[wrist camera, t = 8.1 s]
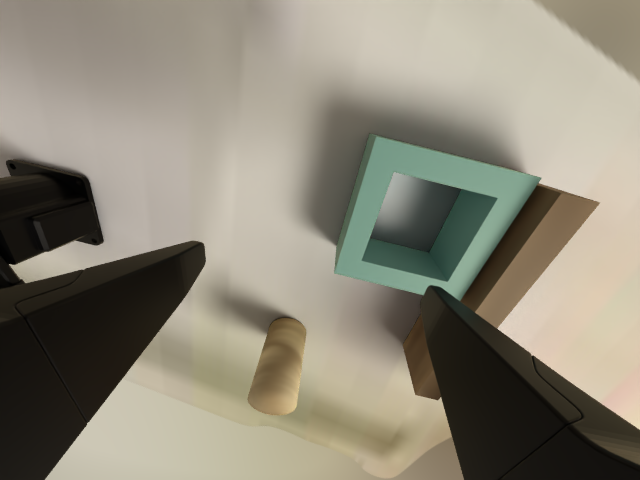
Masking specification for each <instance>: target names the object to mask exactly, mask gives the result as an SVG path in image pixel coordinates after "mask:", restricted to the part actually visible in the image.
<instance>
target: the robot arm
mask: <svg viewBox="0 0 640 480" xmlns="http://www.w3.org/2000/svg"><path fill="white" fill-rule="evenodd" d="M6 165H7V167H8V170H9V173H10V175H11V176H10V177H4V178H0V480H45V478H46V477H47V476H48V475H49V473H50V472H51V471H52V469H53V468H54V467H55V466H56V464H57V463H58V462H59V460H60V459H61V458H62V457H63V455H64V454H65V453H66V451H67V450H68V449H69V447H70V446H71V445H72V444H73V442H74V441H75V440H76V438H77V437H78V436H79V434H80V433H81V432H82V431H83V429H84V428H85V427H86V425H87V423H88V422H89V421H90V420H91V418H92V417H93V416H94V415H95V413H96V412H97V411H98V409H99V408H100V407H101V405H102V404H103V403H104V402H105V400H106V399H107V398H108V396H109V395H110V394H111V393H112V391H113V390H114V389H115V387H116V386H117V385H118V383H119V382H120V381H121V380H122V378H123V377H124V376H125V374H126V373H127V372H128V371H129V369H130V368H131V367H132V365H133V364H134V363H135V361H136V360H137V359H138V358H139V356H140V355H141V354H142V352H143V351H144V350H145V348H146V347H147V346H148V345H149V343H150V342H151V341H152V339H153V338H154V337H155V336H156V334H157V333H158V332H159V330H160V329H161V328H162V326H163V325H164V324H165V323H166V321H167V320H168V319H169V317H170V316H171V315H172V313H173V312H174V311H175V310H176V308H177V307H178V306H179V304H180V303H181V302H182V300H183V299H184V298H185V296H186V295H187V293H188V292H189V290H190V289H191V287H192V285H193V284H194V282H195V280H196V279H197V277H198V275H199V274H200V272H201V270H202V269H203V267H204V265H205V262H206V257H205V246H204V244H203V243H202V242H198V241H189V242H185V243H181V244H178V245H174V246H170V247H166V248H162V249H158V250H155V251H151V252H147V253H143V254H139V255H136V256H132V257H128V258H124V259H120V260H117V261H113V262H109V263H105V264H101V265H97V266H94V267H90V268H86V269H85V270H78V271H74V272H71V273H67V274H63V275H59V276H55V277H51V278H47V279H43V280H38V281H34V282H30V283H25V282H24V281H23V280H22V279H20V278H19V277H18V276H17V274H16V273H15V272H14V271H13V269H12V268H11V267H10V265H9V264H12V265H16V264H18V263H20V262H23V261H25V260H27V259H30V258H32V257H34V256H37V255H39V254H41V253H44V252H49V251H52V250H54V249H56V248H59V247H61V246H63V245H66V244H68V243H70V242H72V241H79V242H84V243H88V244H92V245H100V244H102V243H103V242H104V240H103V236H102V232H101V228H100V224H99V219H98V215H97V211H96V207H95V203H94V199H93V195H92V191H91V187H90V183H89V181H88V179H87V178H86V177H84V176H81V175H77V174H73V173H69V172H65V171H61V170H57V169H53V168H49V167H45V166H41V165H37V164H33V163H29V162H25V161H21V160H16V159H13V160H7V161H6ZM420 308H421V314H422V321H423V327H424V333H425V339H426V344H427V348H428V351H429V355H430V359H431V362H432V366H433V369H434V373H435V377H436V380H437V384H438V387H439V391H440V395H441V398H442V402H443V405H444V409H445V413H446V416H447V420H448V423H449V427H450V431H451V434H452V438H453V441H454V445H455V448H456V452H457V456H458V459H459V463H460V467H461V470H462V474H463V477H464V480H640V430H639V429H638V428H636V427H635V426H633V425H632V424H630V423H629V422H627V421H626V420H624V419H623V418H621V417H620V416H619V415H617V414H616V413H614V412H613V411H611V410H610V409H608V408H607V407H605V406H604V405H602V404H601V403H599V402H598V401H597V400H595V399H594V398H592V397H591V396H589V395H588V394H586V393H585V392H583V391H582V390H581V389H579V388H578V387H576V386H575V385H573V384H572V383H571V382H569V381H568V380H566V379H565V378H563V377H562V376H561V375H559V374H558V373H557V372H555V371H554V370H552V369H551V368H550V367H548V366H547V365H545V364H544V363H543V362H541V361H540V360H539V359H537V358H536V357H535V356H531V354H530V353H529V352H528V351H527V350H525V349H524V348H522V347H521V346H520V345H518V344H517V343H516V342H514V341H513V340H512V339H510V338H509V337H508V336H506V335H505V334H504V333H502V332H501V331H499V330H498V329H497V328H495V327H494V326H493V325H491V324H490V323H489V322H487V321H486V320H485V319H483V318H482V317H481V316H479V315H478V314H476V313H475V312H474V311H472V310H471V309H470V308H468V307H467V306H466V305H464V304H463V303H462V302H460V301H459V300H458V299H456V298H455V297H454V296H452V295H451V294H449V293H448V292H447V291H445V290H444V289H443V288H441V287H439V286H434V285H429V286H428V287H427V289H426V291H425V293H424V295H423V297H422V300H421V303H420Z"/></svg>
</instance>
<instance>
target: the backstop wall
mask: <svg viewBox="0 0 640 480" xmlns="http://www.w3.org/2000/svg"><path fill="white" fill-rule="evenodd" d="M599 204H600V203H599V202H596V201H593V200H590V199H587V198H583V197H580V196H577V195H574V194H571V193H568V192H564V191H561V190H558V189H555V188H552V187H549V186H545V185H542V184H539V183H538V184H537V186H536V187H535V189H534V190H533V192H532V193H531V195H530V196H529V198H528V199H527V201H526V202H525V204H524V205H523V207H522V208H521V210H520V211H519V213H518V214H517V216H516V217H515V219H514V220H513V222H512V223H511V225H510V226H509V228H508V230H507V231H506V233H505V234H504V236H503V237H502V239H501V240H500V242H499V243H498V245H497V246H496V248H495V249H494V251H493V252H492V254H491V255H490V257H489V258H488V260H487V261H486V263H485V264H484V266H483V267H482V269H481V270H480V272H479V273H478V275H477V276H476V278H475V279H474V281H473V282H472V284H471V285H470V287H469V288H468V290H467V291H466V293H465V294H464V296H463V297H462V299H461V300H460V302H462V303H463V304H464V305H466V306H467V307H468V308H470V309H471V310H472V311H474V312H475V313H476V314H478V315H479V316H481V317H482V318H483V319H485V320H486V321H487V322H489V323H490V324H491V325H493V326H494V327H495V328H498V327H499V325H500V324H501V323H502V322H503V320H504V319H505V318H506V317H507V316H508V314H509V313H510V312H511V311H512V310H513V308H514V307H515V306H516V305H517V303H518V302H519V301H520V300H521V299H522V297H523V296H524V295H525V294H526V293H527V291H528V290H529V289H530V288H531V286H532V285H533V284H534V283H535V282H536V280H537V279H538V278H539V277H540V275H541V274H542V273H543V272H544V271H545V269H546V268H547V267H548V266H549V265H550V263H551V262H552V261H553V260H554V258H555V257H556V256H557V255H558V254H559V252H560V251H561V250H562V249H563V247H564V246H565V245H566V244H567V243H568V241H569V240H570V239H571V238H572V237H573V235H574V234H575V233H576V232H577V230H578V229H579V228H580V227H581V226H582V224H583V223H584V222H585V221H586V219H587V218H588V217H589V216H590V215H591V213H592V212H593V211H594V210H595V209H596V207H597V206H598V205H599ZM403 348H404V352H405V356H406V360H407V364H408V368H409V372H410V376H411V380H412V384H413V388H414V392H415V395H418V396H423V397H427V398H431V399H435V400H439V398H440V397H441V395H440V391H439V387H438V384H437V380H436V377H435V373H434V369H433V366H432V362H431V359H430V355H429V351H428V348H427V344H426V339H425V333H424V327H423V321H422V314H420V316H419V318H418V320H417V321H416V323H415V325H414V326H413V328H412V330H411V332H410V333H409V335H408V337H407V339H406V340H405V342H404V344H403Z"/></svg>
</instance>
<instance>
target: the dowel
mask: <svg viewBox="0 0 640 480" xmlns="http://www.w3.org/2000/svg"><path fill="white" fill-rule="evenodd" d="M305 339H306V329H305V327H304V326H303V325H302V324H301V323H300V322H298V321H296V320H294V319H290V318H281V319H277V320H275V321H274V322H272V323H271V325H270V327H269V330H268V334H267V337H266V340H265V343H264V347H263V350H262V353H261V356H260V359H259V363H258V366H257V369H256V372H255V375H254V379H253V382H252V385H251V388H250V392H249V395H248V402H249V404H250V405H251V406H252V407H253V408H254V409H256V410H258V411H260V412H262V413H265V414H270V415H285V414H288V413H291V412H292V411H294V410H295V408H296V406H297V398H298V391H299V384H300V376H301V369H302V361H303V354H304V346H305Z"/></svg>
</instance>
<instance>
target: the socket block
mask: <svg viewBox="0 0 640 480" xmlns="http://www.w3.org/2000/svg"><path fill="white" fill-rule="evenodd" d="M394 172H396V173H400V174H404V175H408V176H412V177H416V178H420V179H424V180H428V181H432V182H436V183H440V184H444V185H448V186H452V187H456V188H460V189H462V190H461V192H460V194H459V195H458V197H457V199H456V201H455V203H454V205H453V207H452V209H451V211H450V213H449V215H448V217H447V219H446V221H445V223H444V225H443V227H442V228H441V230H440V232H439V234H438V236H437V238H436V240H435V242H434V244H433V246H432V248H431V250H430V252H429V253H428V252H424V251H420V250H416V249H412V248H408V247H404V246H400V245H396V244H392V243H388V242H384V241H380V240H376V239H372V238H370V236H371V233H372V230H373V228H374V225H375V222H376V219H377V217H378V214H379V211H380V208H381V206H382V203H383V200H384V197H385V195H386V192H387V189H388V186H389V184H390V181H391V178H392V175H393V173H394ZM540 180H541V178H540V177H537V176H533V175H530V174H526V173H522V172H519V171H515V170H512V169H508V168H505V167H501V166H498V165H494V164H490V163H486V162H482V161H478V160H474V159H470V158H466V157H462V156H458V155H454V154H450V153H446V152H442V151H438V150H434V149H430V148H426V147H422V146H418V145H414V144H410V143H406V142H402V141H398V140H394V139H390V138H386V137H382V136H378V135H374V134H369V137H368V141H367V144H366V148H365V151H364V154H363V158H362V161H361V165H360V168H359V171H358V175H357V178H356V182H355V185H354V188H353V192H352V195H351V199H350V202H349V206H348V209H347V212H346V216H345V219H344V223H343V226H342V229H341V233H340V236H339V240H338V243H337V247H336V259H335V271H334V273H335V274H339V275H343V276H347V277H351V278H355V279H360V280H364V281H368V282H372V283H376V284H380V285H384V286H388V287H392V288H396V289H400V290H405V291H409V292H413V293H417V294H421V295H424V293H425V291H426V289H427V287H428V286H429V285H434V286H439V287H441V288H443V289H444V290H445V291H447V292H448V293H449V294H451V295H452V296H454V297H455V298H456V299H458V300H459V301H460V300H461V299H462V297H463V296H464V294H465V293H466V291H467V290H468V288H469V287H470V285H471V284H472V282H473V281H474V279H475V278H476V276H477V275H478V273H479V272H480V270H481V269H482V267H483V266H484V264H485V263H486V261H487V260H488V258H489V257H490V255H491V254H492V252H493V251H494V249H495V248H496V246H497V245H498V243H499V242H500V240H501V239H502V237H503V236H504V234H505V233H506V231H507V230H508V228H509V226H510V225H511V223H512V222H513V220H514V219H515V217H516V216H517V214H518V213H519V211H520V210H521V208H522V207H523V205H524V204H525V202H526V201H527V199H528V198H529V196H530V195H531V193H532V192H533V190H534V189H535V187H536V186H537V184H538V183H539V181H540Z"/></svg>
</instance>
